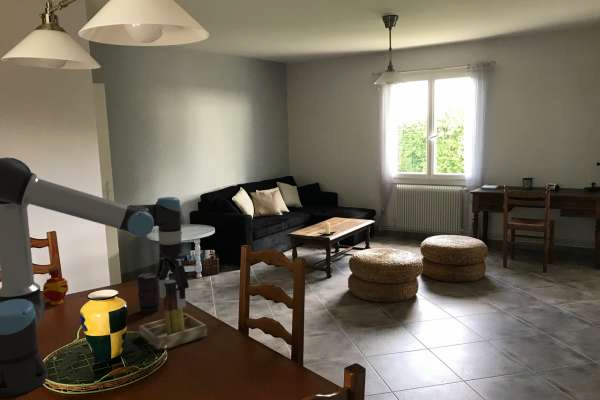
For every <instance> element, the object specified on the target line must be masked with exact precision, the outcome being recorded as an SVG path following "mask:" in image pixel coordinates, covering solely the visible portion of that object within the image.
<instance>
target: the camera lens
mask: <svg viewBox="0 0 600 400" xmlns="http://www.w3.org/2000/svg"><path fill="white" fill-rule="evenodd" d="M156 274H157V273H153V272H146V273H141V274H139V275H138V276H137V288H138V289H137V290H138V293H137V296H138V305H139V309H140V310H141V313H142V314H144V315H145V314H147V315H149V314H154V313H156V312H158V311H159V307H160V280H159V277H157V276H156Z"/></svg>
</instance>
